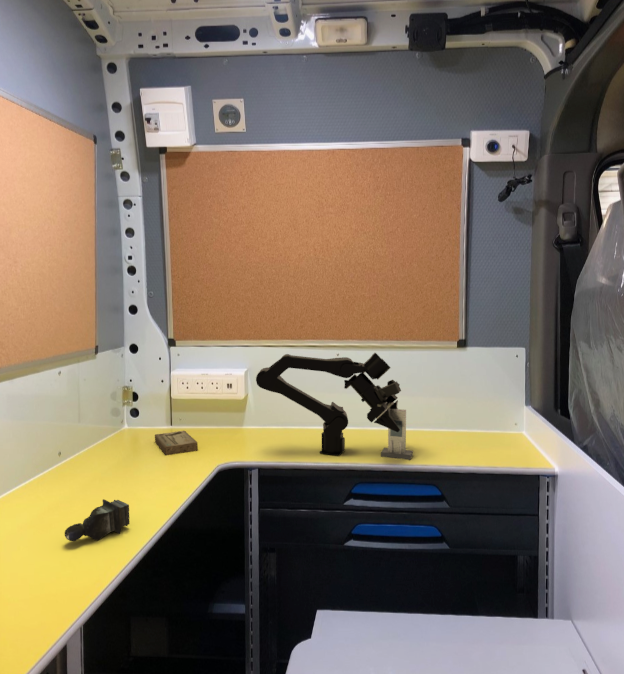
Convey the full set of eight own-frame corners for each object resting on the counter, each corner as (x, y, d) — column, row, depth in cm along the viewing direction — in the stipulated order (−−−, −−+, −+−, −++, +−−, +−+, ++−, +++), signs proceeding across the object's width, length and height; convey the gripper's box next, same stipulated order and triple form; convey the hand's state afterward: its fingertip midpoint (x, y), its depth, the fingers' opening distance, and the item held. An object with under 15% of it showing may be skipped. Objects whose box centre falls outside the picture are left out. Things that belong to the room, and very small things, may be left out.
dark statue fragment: (60, 545, 110) (58, 515, 110) (114, 522, 121) (113, 494, 120) (78, 553, 107) (76, 522, 106) (133, 529, 118) (132, 500, 117)
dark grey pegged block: (380, 456, 166) (380, 440, 166) (384, 452, 171) (384, 436, 170) (409, 459, 163) (410, 443, 163) (412, 455, 168) (412, 439, 167)
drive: (388, 451, 167) (388, 410, 165) (389, 449, 169) (390, 408, 168) (404, 453, 165) (404, 411, 164) (405, 450, 167) (406, 409, 166)
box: (165, 456, 169) (164, 447, 168) (154, 442, 184) (154, 433, 184) (198, 451, 173) (198, 442, 173) (185, 438, 189) (185, 429, 189)
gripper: (378, 377, 157) (415, 417, 155) (391, 368, 175) (425, 404, 172) (351, 402, 161) (388, 442, 158) (367, 391, 178) (400, 426, 175)
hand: (401, 427), depth 166 cm, fingers open, 8 cm apart
